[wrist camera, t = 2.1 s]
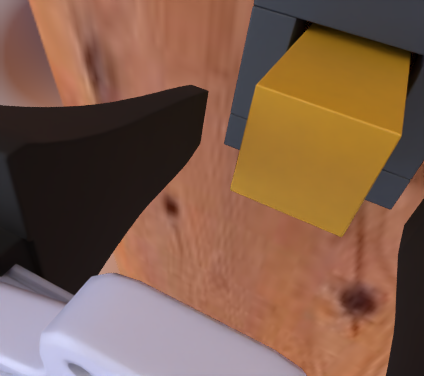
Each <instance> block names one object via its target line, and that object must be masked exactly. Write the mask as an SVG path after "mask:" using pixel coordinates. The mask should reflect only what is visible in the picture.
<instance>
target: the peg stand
mask: <svg viewBox="0 0 424 376" xmlns="http://www.w3.org/2000/svg"><path fill="white" fill-rule="evenodd" d="M306 21H309V22H313V23H316V24H319V25H323V26H326V27H329V28H333V29H336V30H339V31H343V32H346V33H350V34H353V35H356V36H360V37H363V38H366V39H370V40H373V41H377V42H380V43H383V44H387V45H390V46H393V47H397V48H400V49H403V50H407V51H410V52H414V53H417V54H419V56H418V58H417V60H416V62H415V64H414V66H413V68H412V69H411V71H410V73H409V75H408V84H407V93H406V102H405V111H404V120H403V129H402V137H401V138H400V140H399V142H398V143H397V145H396V147H395V149H394V150H393V152H392V154H391V155H390V157H389V159H388V160H387V162H386V164H385V166H384V167H383V169H382V171H381V172H380V174H379V176H378V177H377V179H376V181H375V183H374V184H373V186H372V188H371V189H370V191H369V193H368V194H367V196H366V198H365V200H367V201H370V202H372V203H375V204H377V205H380V206H382V207H385V208H388V209H392V207H393V206H394V204H395V203H396V201H397V200H398V198H399V197H400V196H401V194H402V193H403V191H404V190H405V188H406V187H407V185H408V184H409V182H410V179H412V177H413V176H414V174H415V173H416V171H417V170H418V169H419V167H420V166H421V164H422V163H423V161H424V0H254V6H253V9H252V13H251V18H250V23H249V28H248V32H247V37H246V42H245V47H244V51H243V56H242V61H241V66H240V70H239V75H238V80H237V84H236V89H235V94H234V99H233V103H232V108H231V114H230V118H229V122H228V127H227V132H226V137H225V141H224V144H225V145H228V146H231V147H233V148H236V149H238V150H240V147H241V143H242V139H243V135H244V131H245V127H246V123H247V119H248V115H249V111H250V107H251V103H252V99H253V95H254V91H255V87H256V85H257V83H258V82H259V81H260V80H261V79H262V78H263V77H264V76H265V75H266V74H267V73H268V71H269V70H270V69H271V68H272V67H273V66H274V65H275V64H276V63H277V62H278V61H279V60H280V58H281V57H282V56H283V55H284V54H285V53H286V52H287V51H288V50H289V49H290V48H291V47H292V45H293V44H294V43H295V42H296V41H297V40H298V39H299V38H300V37H301V36H302V34H303V31H304V28H305V24H306Z"/></svg>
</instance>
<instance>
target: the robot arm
mask: <svg viewBox="0 0 424 376" xmlns="http://www.w3.org/2000/svg"><path fill="white" fill-rule="evenodd" d="M207 98H208V91H207V90H204V89H202V88H199V87H196V86H193V85H187V86H182V87H177V88H173V89H169V90H165V91H161V92H157V93H153V94H149V95H145V96H140V97H135V98H130V99H126V100H121V101H116V102H110V103H103V104H95V105H85V106H69V107H19V106H17V107H16V106H3V105H0V376H307V375H306V374H305V372H304V371H303V370H302V368H300V367H299V366H297V365H296V364H294V363H293V362H292V361H290V360H289V359H287V358H286V357H284V356H283V355H281V354H280V353H279V352H277V351H276V350H274V349H272V348H270V347H268V346H266V345H265V344H263V343H261V342H259V341H257V340H255V339H253V338H251V337H249V336H247V335H245V334H243V333H241V332H239V331H237V330H235V329H233V328H231V327H229V326H227V325H225V324H223V323H221V322H220V321H218V320H216V319H214V318H212V317H210V316H208V315H206V314H204V313H202V312H200V311H198V310H196V309H194V308H192V307H190V306H188V305H186V304H184V303H182V302H180V301H178V300H176V299H175V298H173V297H171V296H169V295H167V294H165V293H163V292H161V291H159V290H157V289H155V288H153V287H151V286H149V285H147V284H145V283H143V282H141V281H139V280H136V279H133V278H130V277H127V276H123V275H120V274H117V273H107V274H102V275H98V274H99V272H100V271H101V269H102V268H103V266H104V265H105V263H106V261H107V260H108V259H109V257H110V256H111V254H112V253H113V251H114V250H115V248H116V247H117V246H118V244H119V243H120V241H121V240H122V238H123V237H124V236H125V234H126V233H127V231H128V230H129V229H130V227H131V226H132V225H133V223H134V222H135V221H136V219H137V218H138V217H139V215H140V214H141V213H142V212H143V210H144V209H145V208H146V207H147V206H148V205H149V204H150V202H151V201H152V200H153V199H154V198H155V197H156V196H157V195H158V194H159V193H160V192H161V191H162V190H163V189H164V188H165V187H166V185H167V184H168V183H169V182H170V181H171V180H172V179H173V178H174V177H175V176H176V175H177V174H178V173H179V171H180V170H181V169H182V168H183V167H184V166H185V165H186V164H187V162H188V161H189V159H190V158H191V157H192V155H193V154H194V152H195V151H196V149H197V148H198V146H199V144H200V142H201V135H202V129H203V123H204V116H205V110H206V104H207ZM386 376H424V199H423V200H422V202H421V203H420V205H419V206H418V207H417V209H416V210H415V211H414V213H413V214H412V215H411V217H410V218H409V220H408V221H407V222H406V224H405V225H404V229H403V234H402V238H401V242H400V247H399V253H398V268H397V290H396V313H395V326H394V335H393V340H392V346H391V352H390V358H389V363H388V368H387V373H386Z"/></svg>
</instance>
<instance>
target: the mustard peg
mask: <svg viewBox="0 0 424 376" xmlns="http://www.w3.org/2000/svg"><path fill="white" fill-rule="evenodd" d="M410 57H411V52H410V51H407V50H403V49H400V48H397V47H393V46H390V45H387V44H383V43H380V42H377V41H373V40H370V39H366V38H363V37H360V36H356V35H353V34H350V33H346V32H343V31H339V30H336V29H333V28H329V27H326V26H323V25H319V24H316V23H313V24H312V25H311V26H310V27H309V28H308V29H307V30H306V31H305V32H304V34H303V35H302V36H301V37H300V38H299V39H298V40H297V41H296V42H295V43H294V44H293V45H292V47H291V48H290V49H289V50H288V51H287V52H286V53H285V54H284V55H283V56H282V57H281V58H280V60H279V61H278V62H277V63H276V64H275V65H274V66H273V67H272V68H271V69H270V70H269V71H268V73H267V74H266V75H265V76H264V77H263V78H262V79H261V80H260V81H259V82H258V83H257V85H256V87H255V91H254V95H253V99H252V103H251V107H250V111H249V115H248V119H247V123H246V127H245V131H244V135H243V139H242V143H241V147H240V151H239V155H238V159H237V163H236V167H235V171H234V175H233V179H232V183H231V187H230V190H231V191H233V192H236V193H238V194H240V195H243V196H245V197H248V198H250V199H252V200H255V201H257V202H259V203H262V204H264V205H266V206H269V207H271V208H274V209H276V210H278V211H281V212H283V213H285V214H288V215H290V216H292V217H295V218H297V219H299V220H302V221H304V222H307V223H309V224H311V225H314V226H316V227H318V228H321V229H323V230H325V231H328V232H330V233H332V234H335V235H337V236H340V237H342V236H343V235H344V233H345V232H346V230H347V228H348V227H349V225H350V223H351V222H352V220H353V218H354V217H355V215H356V213H357V211H358V210H359V208H360V206H361V205H362V203H363V201H364V200H365V198H366V196H367V194H368V193H369V191H370V189H371V188H372V186H373V184H374V183H375V181H376V179H377V177H378V176H379V174H380V172H381V171H382V169H383V167H384V166H385V164H386V162H387V160H388V159H389V157H390V155H391V154H392V152H393V150H394V149H395V147H396V145H397V143H398V142H399V140H400V138H401V137H402V129H403V120H404V111H405V102H406V93H407V84H408V75H409V66H410Z"/></svg>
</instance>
